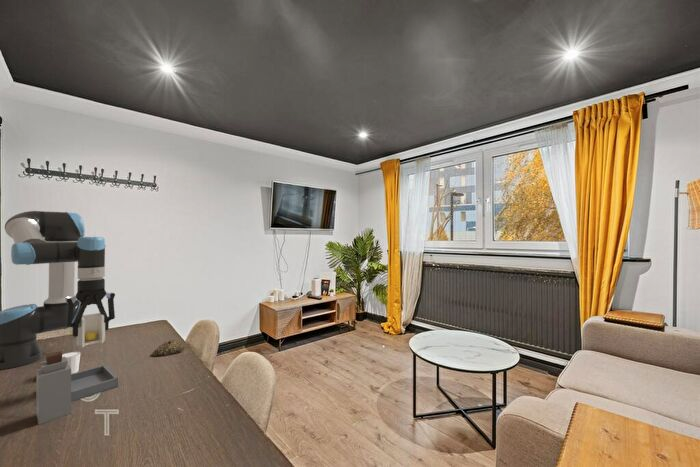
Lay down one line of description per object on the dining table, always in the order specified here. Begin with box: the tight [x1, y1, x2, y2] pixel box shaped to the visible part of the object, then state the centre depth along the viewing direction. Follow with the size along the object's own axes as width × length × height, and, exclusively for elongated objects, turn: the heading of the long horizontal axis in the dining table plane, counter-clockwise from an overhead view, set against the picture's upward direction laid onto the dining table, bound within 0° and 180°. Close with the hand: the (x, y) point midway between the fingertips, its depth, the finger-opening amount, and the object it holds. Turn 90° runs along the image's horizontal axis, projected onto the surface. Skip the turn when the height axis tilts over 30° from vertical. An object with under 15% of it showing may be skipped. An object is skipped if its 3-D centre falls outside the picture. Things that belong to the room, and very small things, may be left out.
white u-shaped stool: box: [79, 312, 105, 348], centre depth 108 cm, size 6×6×10 cm
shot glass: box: [62, 351, 81, 374], centre depth 116 cm, size 7×7×7 cm
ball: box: [85, 331, 97, 341], centre depth 108 cm, size 3×3×3 cm
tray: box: [71, 364, 119, 403], centre depth 104 cm, size 18×16×3 cm
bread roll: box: [152, 339, 185, 357], centre depth 138 cm, size 13×12×5 cm
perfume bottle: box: [35, 350, 72, 425], centre depth 89 cm, size 7×7×18 cm
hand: (91, 342), depth 108 cm, fingers closed on white u-shaped stool, 6 cm apart
